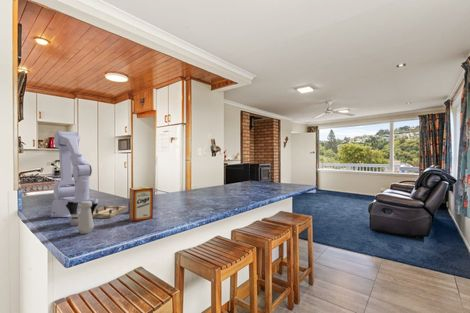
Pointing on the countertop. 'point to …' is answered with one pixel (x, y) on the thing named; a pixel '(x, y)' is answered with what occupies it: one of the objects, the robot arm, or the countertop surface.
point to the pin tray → (108, 211)
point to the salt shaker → (85, 218)
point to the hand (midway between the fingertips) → (81, 218)
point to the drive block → (75, 218)
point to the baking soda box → (141, 203)
